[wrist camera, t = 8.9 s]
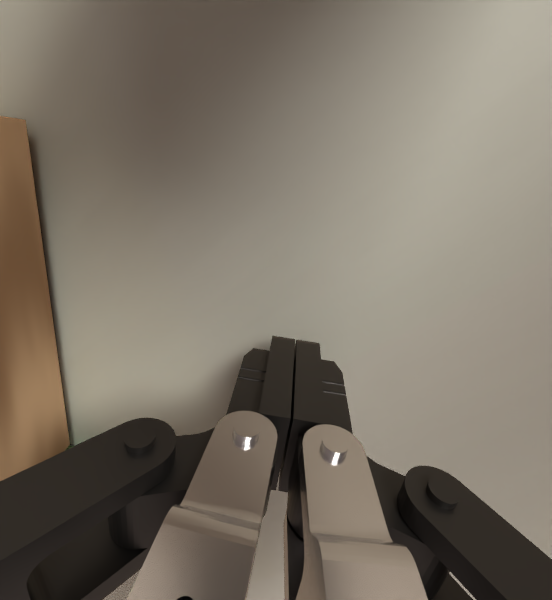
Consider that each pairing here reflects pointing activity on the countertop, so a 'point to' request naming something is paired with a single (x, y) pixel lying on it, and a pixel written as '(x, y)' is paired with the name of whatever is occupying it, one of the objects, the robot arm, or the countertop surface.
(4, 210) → the tan wooden bar
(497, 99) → the countertop surface
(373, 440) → the countertop surface
